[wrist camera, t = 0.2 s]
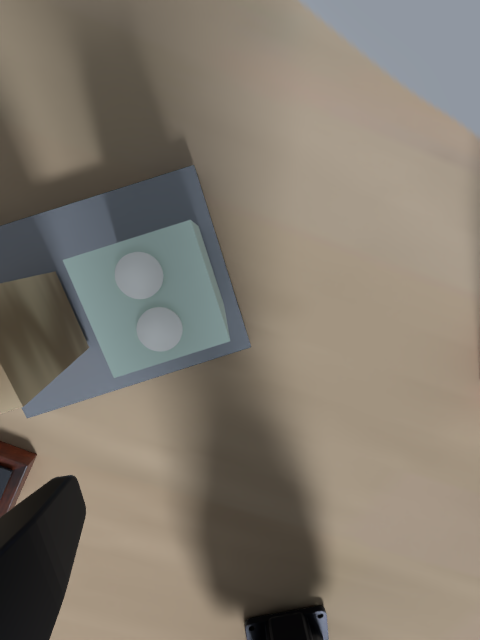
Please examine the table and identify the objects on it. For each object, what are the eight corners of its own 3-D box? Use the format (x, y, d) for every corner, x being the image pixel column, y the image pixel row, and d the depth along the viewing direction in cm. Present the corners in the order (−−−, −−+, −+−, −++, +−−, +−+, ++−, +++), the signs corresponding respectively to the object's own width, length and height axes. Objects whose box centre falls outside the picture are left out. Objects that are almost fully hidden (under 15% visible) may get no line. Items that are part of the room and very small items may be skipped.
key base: (248, 339, 22) (251, 347, 20) (39, 406, 22) (26, 418, 20) (195, 170, 19) (193, 165, 18) (-43, 245, 19) (-64, 245, 18)
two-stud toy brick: (223, 304, 19) (230, 342, 12) (148, 328, 19) (112, 380, 12) (198, 226, 18) (189, 219, 11) (118, 251, 18) (60, 260, 11)
